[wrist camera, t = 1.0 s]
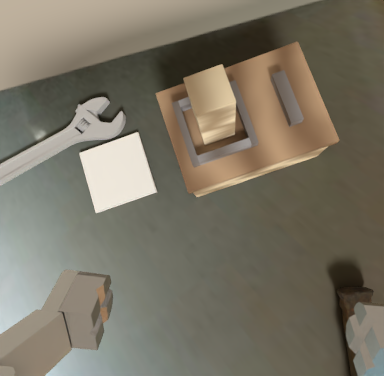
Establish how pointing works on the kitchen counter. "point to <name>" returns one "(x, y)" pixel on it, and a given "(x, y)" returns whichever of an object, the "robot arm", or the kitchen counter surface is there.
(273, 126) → the brown rectangular box
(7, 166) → the adjustable wrench
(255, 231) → the kitchen counter surface
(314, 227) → the kitchen counter surface
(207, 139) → the oak block
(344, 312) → the hand tool
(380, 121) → the kitchen counter surface
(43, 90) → the kitchen counter surface
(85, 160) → the white mat
